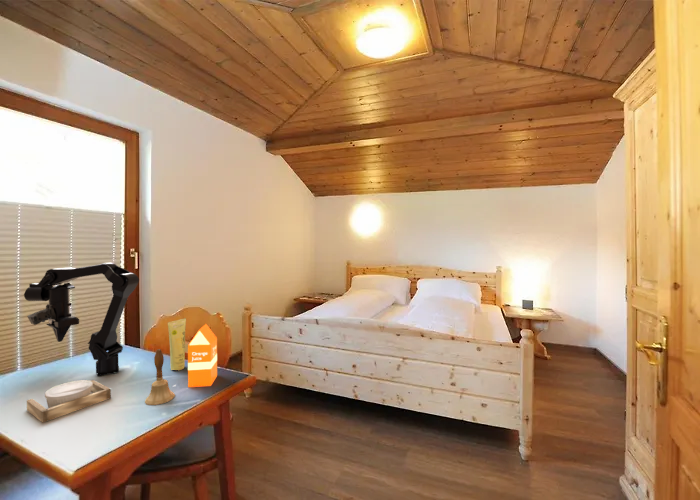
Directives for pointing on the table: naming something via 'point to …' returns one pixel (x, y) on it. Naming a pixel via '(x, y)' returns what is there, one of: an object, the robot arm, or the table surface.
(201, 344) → the orange juice
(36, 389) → the table surface
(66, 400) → the ramekin
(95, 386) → the cradle
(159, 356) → the hand bell
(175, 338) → the tube
